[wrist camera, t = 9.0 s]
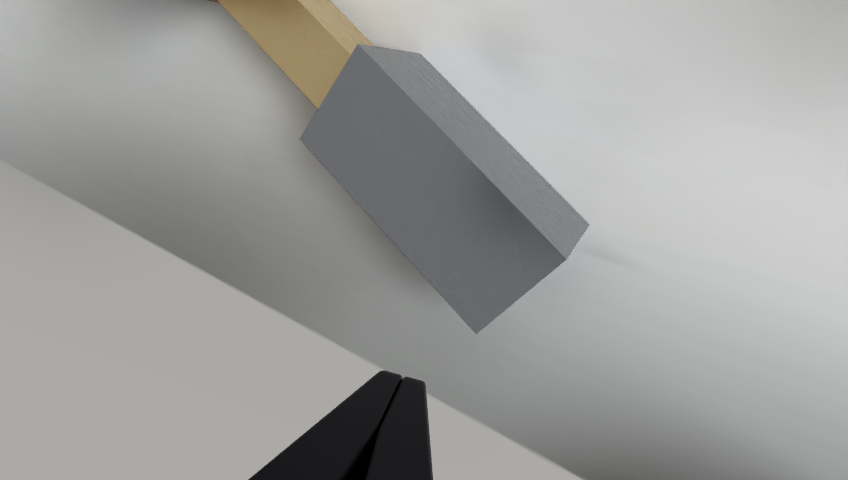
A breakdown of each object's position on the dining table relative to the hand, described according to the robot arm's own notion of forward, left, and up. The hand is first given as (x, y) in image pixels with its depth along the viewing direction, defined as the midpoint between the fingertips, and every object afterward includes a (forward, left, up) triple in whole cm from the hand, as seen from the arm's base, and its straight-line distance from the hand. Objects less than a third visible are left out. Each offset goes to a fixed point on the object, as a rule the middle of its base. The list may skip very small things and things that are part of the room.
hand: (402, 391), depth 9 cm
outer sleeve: (+3, +3, -13) cm, 13 cm away
